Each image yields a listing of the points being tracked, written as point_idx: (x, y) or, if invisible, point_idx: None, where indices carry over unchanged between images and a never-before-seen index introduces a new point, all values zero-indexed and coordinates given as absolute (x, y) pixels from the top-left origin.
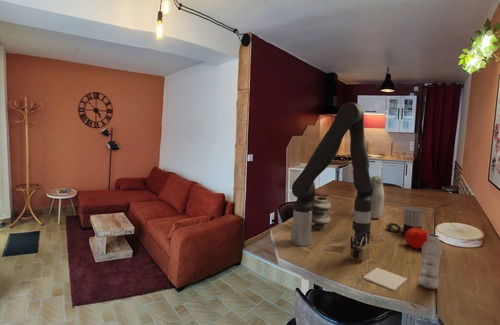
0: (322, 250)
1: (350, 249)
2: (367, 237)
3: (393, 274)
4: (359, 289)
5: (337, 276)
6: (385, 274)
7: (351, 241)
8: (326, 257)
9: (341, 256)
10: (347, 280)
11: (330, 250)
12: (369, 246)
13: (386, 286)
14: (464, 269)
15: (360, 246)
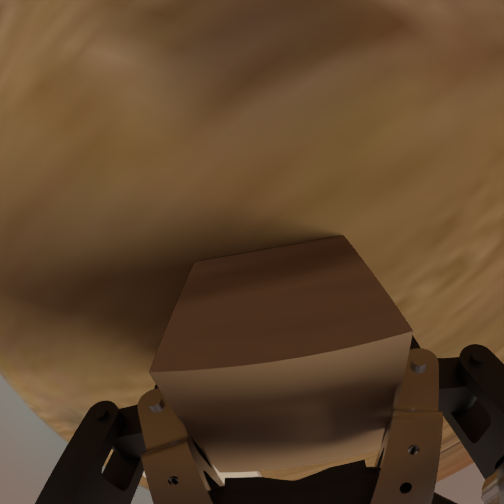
0: (79, 5)
1: (170, 323)
2: (481, 457)
3: (249, 475)
4: (53, 430)
5: (3, 357)
6: (214, 467)
7: (51, 493)
8: (13, 153)
9: (134, 193)
10: (31, 393)
11: (145, 18)
12: (376, 444)
13: (144, 476)
14: (468, 454)
15: (264, 444)
